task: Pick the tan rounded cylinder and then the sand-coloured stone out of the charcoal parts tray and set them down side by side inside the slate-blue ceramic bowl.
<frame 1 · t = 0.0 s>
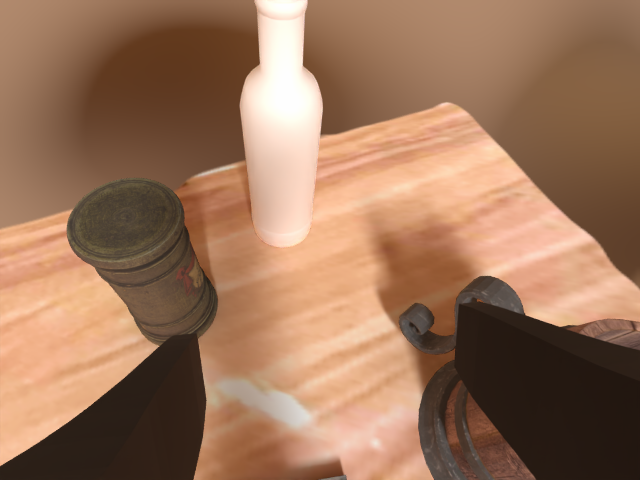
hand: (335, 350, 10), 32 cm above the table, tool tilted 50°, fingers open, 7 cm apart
tankard: (472, 409, 41), on the table
container: (179, 310, 44), on the table
bottle: (282, 225, 52), on the table
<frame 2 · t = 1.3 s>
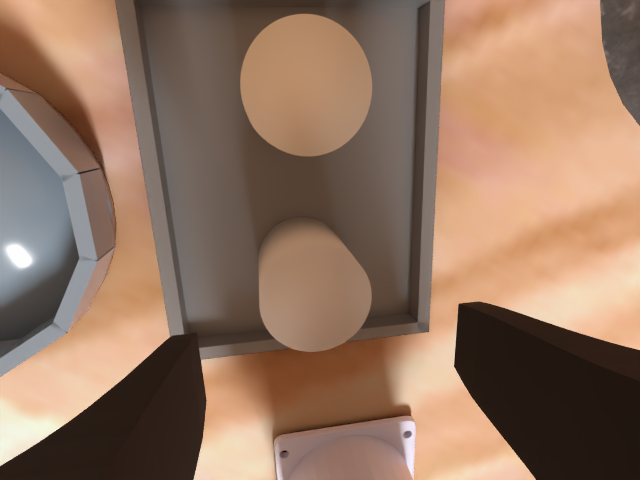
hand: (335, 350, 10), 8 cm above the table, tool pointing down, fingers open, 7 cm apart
parts tray: (296, 183, 17), on the table
tan rounded cylinder: (301, 258, 18), resting on parts tray
sand stone: (292, 100, 16), resting on parts tray
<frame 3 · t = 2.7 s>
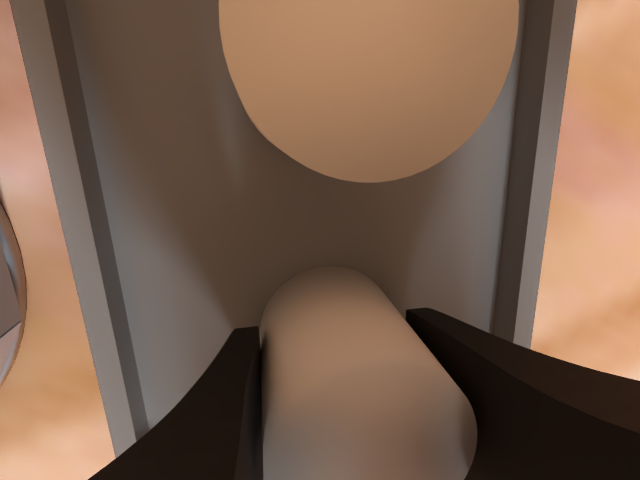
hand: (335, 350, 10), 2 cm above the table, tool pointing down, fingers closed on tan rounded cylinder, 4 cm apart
parts tray: (320, 211, 11), on the table
tan rounded cylinder: (327, 328, 11), resting on parts tray, touching gripper
sand stone: (318, 77, 9), resting on parts tray
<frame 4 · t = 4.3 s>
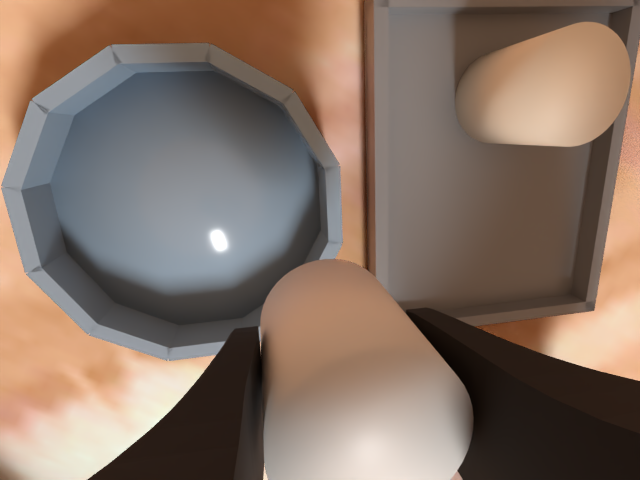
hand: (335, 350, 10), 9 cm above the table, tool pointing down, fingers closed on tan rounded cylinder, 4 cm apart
bowl: (196, 205, 17), on the table
parts tray: (485, 174, 19), on the table
tan rounded cylinder: (326, 321, 12), point 7 cm above the table, touching gripper
sand stone: (495, 98, 18), resting on parts tray
when the fingers open (3 cm above the table, at t = 6.0 s): tan rounded cylinder drops 1 cm, resting on bowl.
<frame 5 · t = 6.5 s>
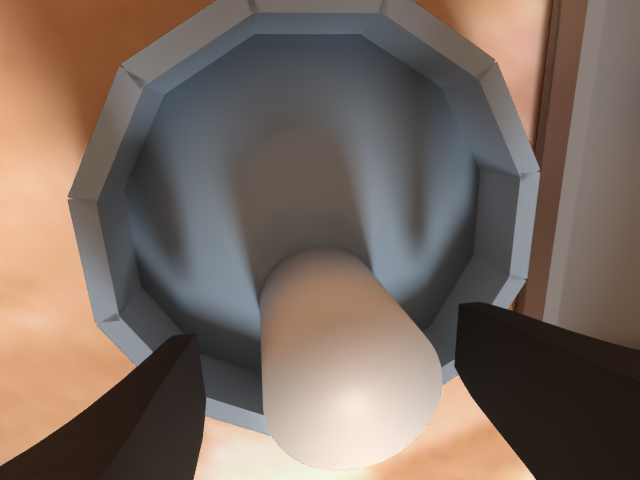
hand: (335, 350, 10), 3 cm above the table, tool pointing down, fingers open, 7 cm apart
bowl: (313, 222, 13), on the table
tan rounded cylinder: (319, 302, 13), point 1 cm above the table, touching bowl
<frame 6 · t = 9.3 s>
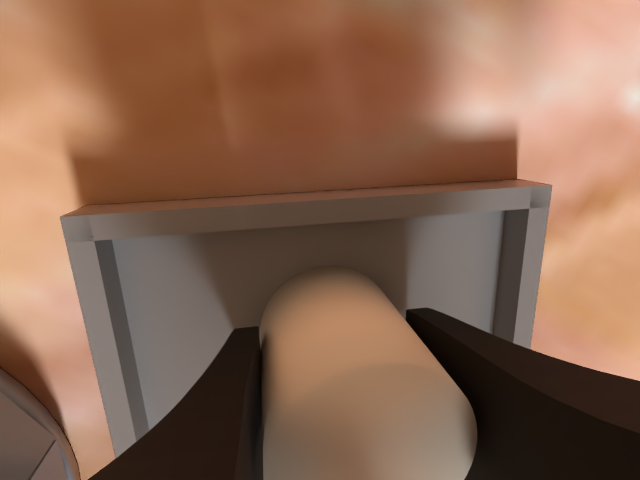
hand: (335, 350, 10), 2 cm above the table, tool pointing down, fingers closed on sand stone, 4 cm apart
parts tray: (328, 415, 13), on the table
sand stone: (327, 328, 11), resting on parts tray, touching gripper
when the fingers open (3 cm above the table, at t = 12.6 s): sand stone drops 1 cm, resting on bowl.
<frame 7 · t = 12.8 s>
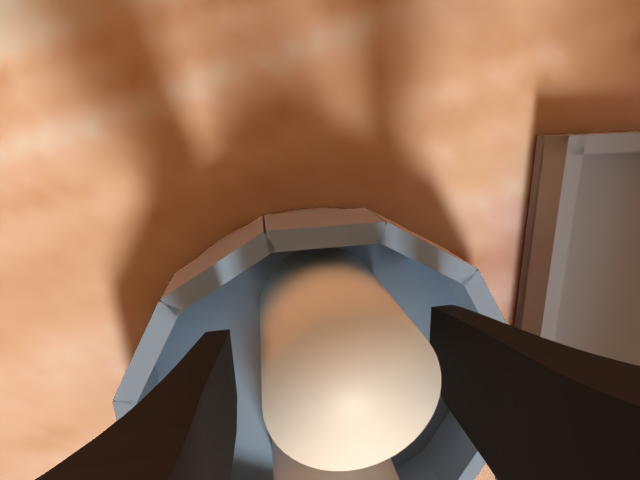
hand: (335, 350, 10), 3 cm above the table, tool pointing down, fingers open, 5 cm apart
bowl: (319, 368, 14), on the table
tan rounded cylinder: (324, 437, 14), point 1 cm above the table, touching bowl
sand stone: (319, 302, 13), point 1 cm above the table, touching bowl
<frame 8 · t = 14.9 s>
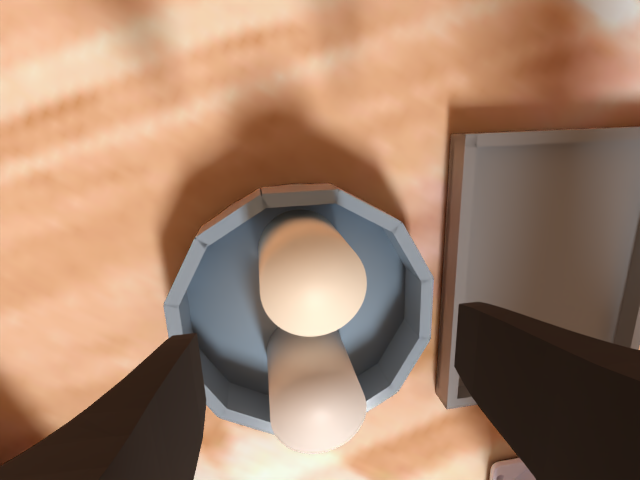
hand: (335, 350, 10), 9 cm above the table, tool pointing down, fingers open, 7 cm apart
bowl: (300, 299, 20), on the table
parts tray: (542, 266, 22), on the table
tan rounded cylinder: (304, 349, 20), point 1 cm above the table, touching bowl
sand stone: (299, 249, 19), point 1 cm above the table, touching bowl
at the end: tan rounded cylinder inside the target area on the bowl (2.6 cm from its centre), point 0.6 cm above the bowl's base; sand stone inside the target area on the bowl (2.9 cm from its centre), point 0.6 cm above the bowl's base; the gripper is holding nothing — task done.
